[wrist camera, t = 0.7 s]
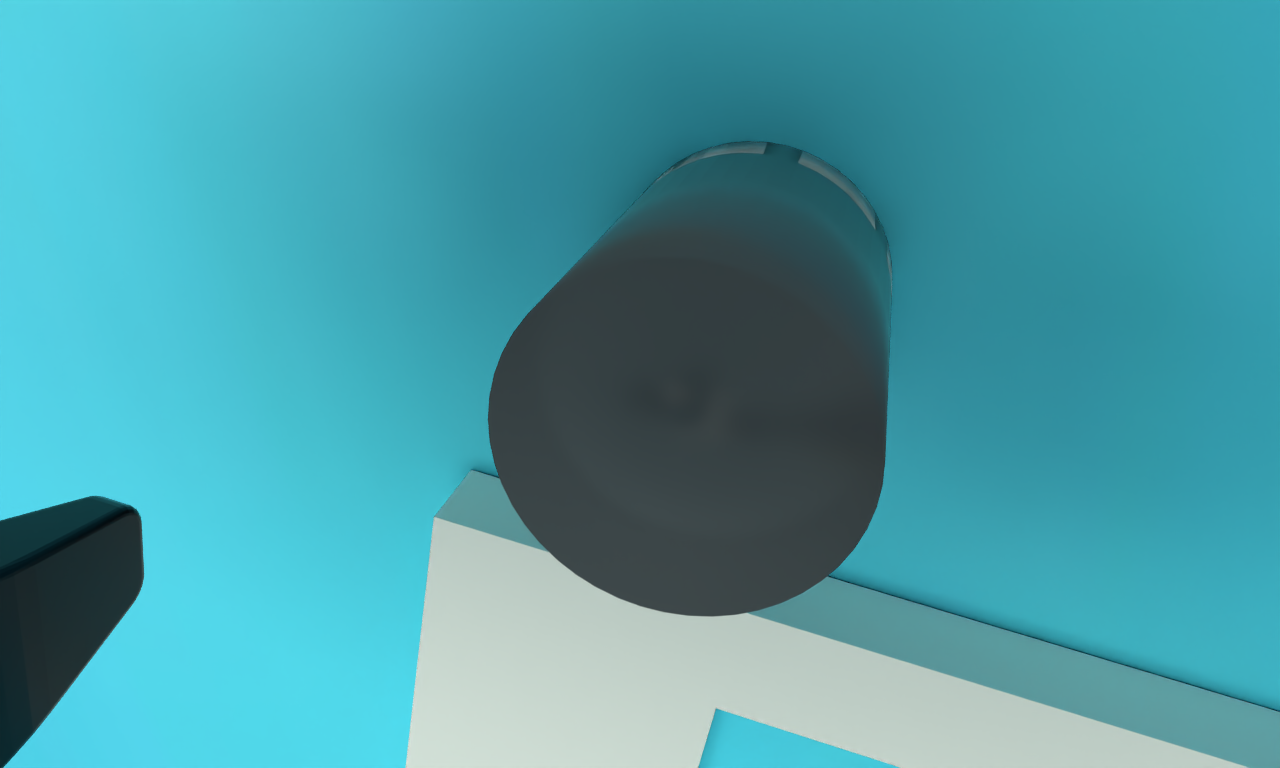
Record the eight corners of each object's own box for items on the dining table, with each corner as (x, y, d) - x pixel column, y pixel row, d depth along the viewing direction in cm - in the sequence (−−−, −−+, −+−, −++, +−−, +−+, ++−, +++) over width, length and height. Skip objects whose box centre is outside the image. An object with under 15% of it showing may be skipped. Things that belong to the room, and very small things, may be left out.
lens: (929, 180, 18) (942, 321, 12) (847, 432, 20) (821, 662, 14) (646, 111, 18) (514, 209, 12) (599, 363, 21) (468, 552, 15)
